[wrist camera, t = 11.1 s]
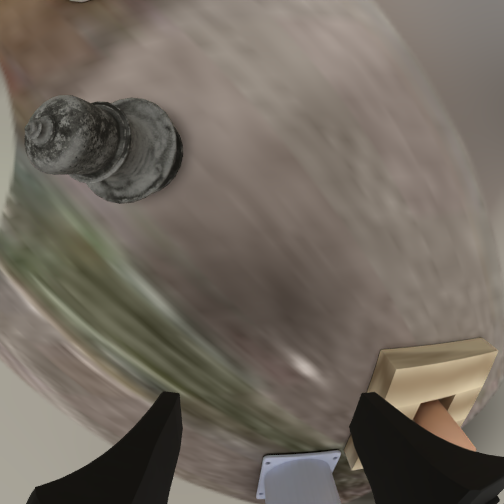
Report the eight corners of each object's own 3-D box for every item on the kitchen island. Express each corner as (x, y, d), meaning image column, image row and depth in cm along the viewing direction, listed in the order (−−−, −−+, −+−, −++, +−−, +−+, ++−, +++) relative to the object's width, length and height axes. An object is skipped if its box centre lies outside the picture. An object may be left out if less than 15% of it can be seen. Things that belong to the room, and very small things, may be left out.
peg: (423, 405, 24) (465, 465, 15) (401, 411, 24) (441, 476, 15) (433, 384, 23) (481, 443, 14) (410, 389, 23) (457, 455, 14)
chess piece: (183, 202, 19) (101, 236, 7) (100, 197, 18) (-32, 224, 6) (192, 111, 17) (131, 21, 6) (109, 112, 17) (-11, 58, 5)
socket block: (438, 429, 26) (449, 444, 23) (343, 450, 25) (351, 470, 22) (481, 337, 23) (498, 350, 20) (380, 349, 22) (396, 369, 19)
